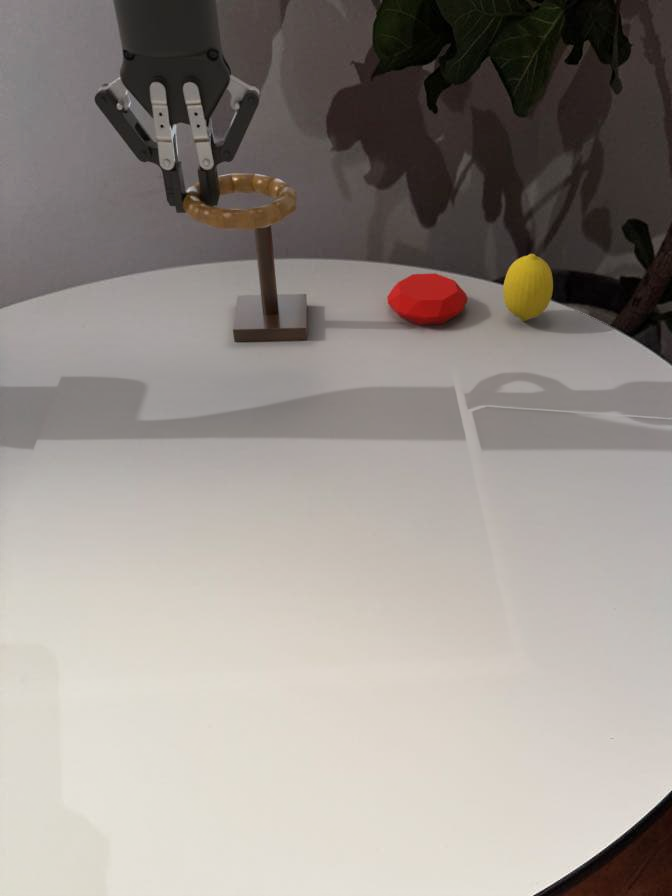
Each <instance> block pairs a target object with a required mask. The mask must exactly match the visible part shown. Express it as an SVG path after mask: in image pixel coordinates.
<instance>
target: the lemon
mask: <svg viewBox="0 0 672 896" xmlns="http://www.w3.org/2000/svg"><path fill="white" fill-rule="evenodd" d="M553 290H554V280H553V272H552V269H551V267H550V266H549V264H548V263H547V262H546V261H545V260H544V259H542V258H541V257H539V256H536V254H535V253H529V254H528V255H523V256H521V257H519V258H517V259H516V260H515V261H513V262H512V264H511V265H510V266H509V267H508V270H507V272H506V275H505V278H504V281H503V287H502V295H503V301H504V304H505V306H506V308H507V310H508V311H509V312H510V313H511V314H512V315H513V316H515V317H517V318H519V319H520V320H521V321H522V322H527V321H529V319H534V318H536V317H538V316H540V315H541V314H543V312H545V311H546V310H547V308H548V306H549V304H550V302H551V299H552V296H553Z"/></svg>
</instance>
